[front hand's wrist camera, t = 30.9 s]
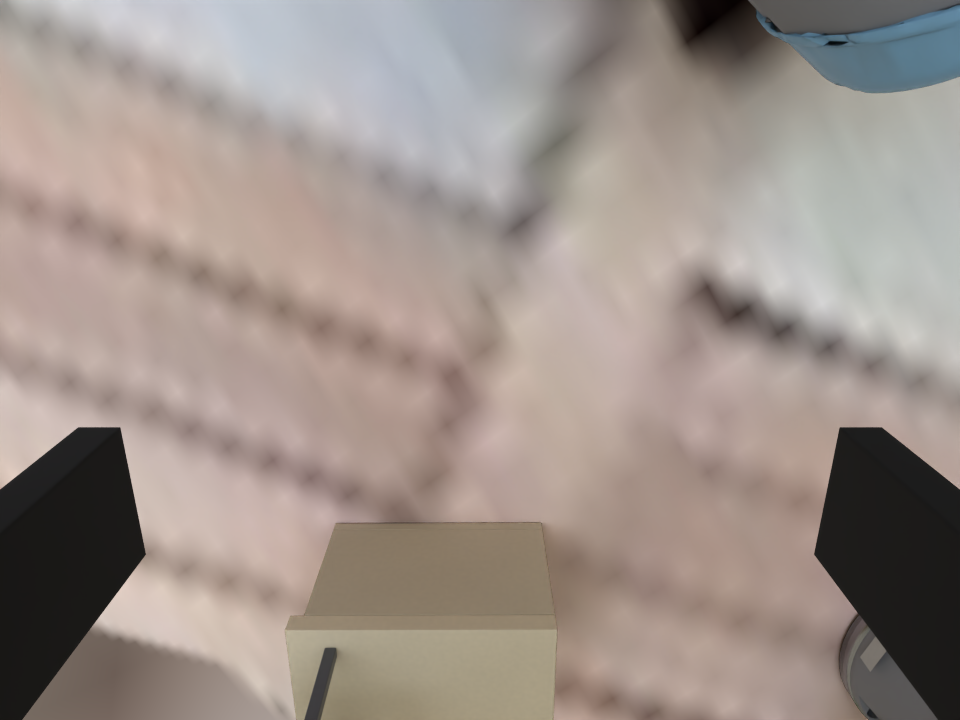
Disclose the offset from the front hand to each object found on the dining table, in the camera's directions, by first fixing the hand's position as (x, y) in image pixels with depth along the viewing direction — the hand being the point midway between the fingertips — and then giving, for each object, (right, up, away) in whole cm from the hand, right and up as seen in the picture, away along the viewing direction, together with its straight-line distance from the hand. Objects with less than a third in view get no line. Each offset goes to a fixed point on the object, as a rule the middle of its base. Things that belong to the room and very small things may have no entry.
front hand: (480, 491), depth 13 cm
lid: (-3, -18, +30) cm, 35 cm away
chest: (-3, -14, +39) cm, 42 cm away
